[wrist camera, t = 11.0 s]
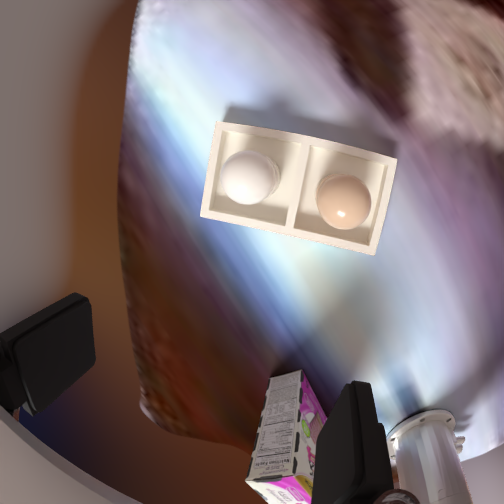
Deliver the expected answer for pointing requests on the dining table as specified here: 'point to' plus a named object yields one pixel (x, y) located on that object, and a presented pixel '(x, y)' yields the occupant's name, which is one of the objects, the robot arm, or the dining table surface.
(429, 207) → the dining table surface
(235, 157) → the white egg
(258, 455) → the candy bar box
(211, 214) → the caddy
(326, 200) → the brown egg
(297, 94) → the dining table surface
